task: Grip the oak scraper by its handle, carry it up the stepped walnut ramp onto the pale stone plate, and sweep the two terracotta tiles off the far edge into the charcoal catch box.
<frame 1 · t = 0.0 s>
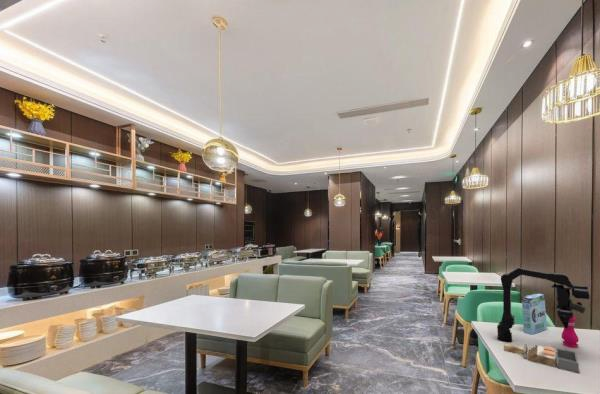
hand: (565, 325, 157), 15 cm above the table, tool pointing down, fingers open, 9 cm apart
tile b: (549, 350, 150), point 4 cm above the table, touching bench
bench: (537, 357, 151), on the table
gum box: (535, 331, 188), on the table
catch box: (567, 364, 144), on the table
pepper mill: (570, 346, 165), on the table
tile a: (549, 354, 146), point 4 cm above the table, touching bench
scraper: (514, 352, 157), on the table
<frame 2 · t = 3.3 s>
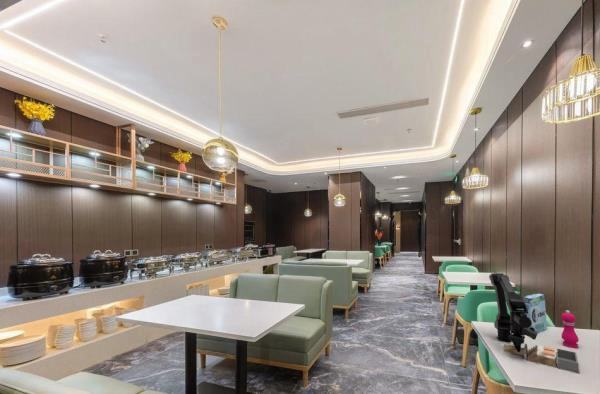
hand: (518, 351, 156), 1 cm above the table, tool pointing down, fingers closed on scraper, 2 cm apart
scraper: (514, 352, 157), on the table, touching gripper
everything else where it was.
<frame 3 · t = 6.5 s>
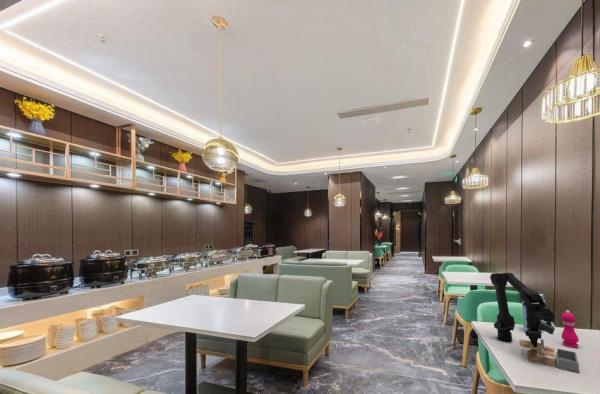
hand: (535, 346, 152), 6 cm above the table, tool pointing down, fingers closed on scraper, 2 cm apart
scraper: (530, 347, 153), point 4 cm above the table, touching gripper
everything else where it was.
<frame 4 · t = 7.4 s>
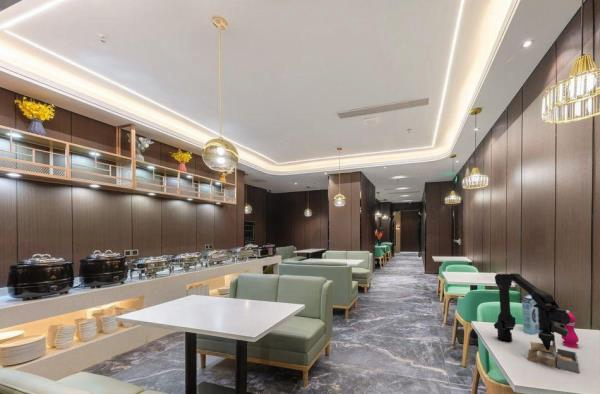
hand: (547, 349, 148), 6 cm above the table, tool pointing down, fingers closed on scraper, 2 cm apart
tile b: (566, 359, 146), point 2 cm above the table, tilted 180°, touching catch box
tile a: (558, 359, 144), point 3 cm above the table, tilted 90°, touching catch box
scraper: (542, 350, 150), point 4 cm above the table, touching gripper
everything else where it was.
when the fingers open (5 cm above the table, at t = 9.6 s): scraper stays where it is, resting on bench.
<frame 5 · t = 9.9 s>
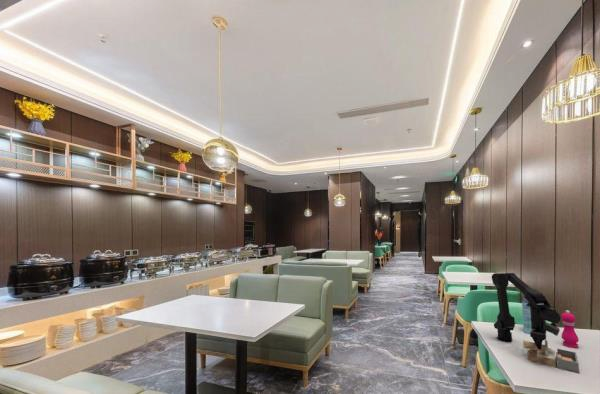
hand: (539, 347, 151), 5 cm above the table, tool pointing down, fingers open, 6 cm apart
scraper: (534, 349, 152), point 4 cm above the table, touching bench
everything else where it was.
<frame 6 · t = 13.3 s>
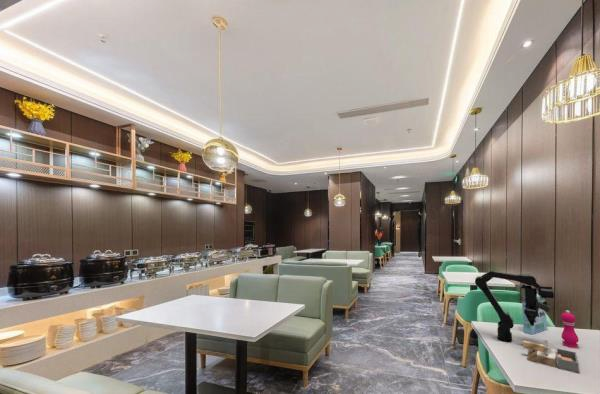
hand: (532, 323, 168), 12 cm above the table, tool pointing down, fingers open, 9 cm apart
nothing on the table moved.
at the end: tile a inside the target area on the catch box (4.5 cm from its centre), point 2.5 cm above the catch box's base; tile b inside the target area on the catch box (3.1 cm from its centre), point 1.7 cm above the catch box's base; scraper touching bench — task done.
